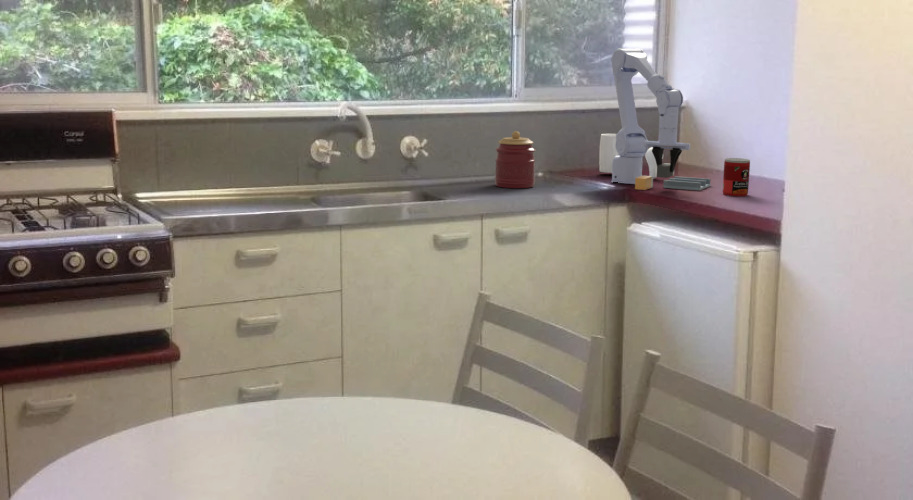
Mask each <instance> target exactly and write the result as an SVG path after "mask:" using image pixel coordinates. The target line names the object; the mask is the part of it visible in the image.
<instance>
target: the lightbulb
mask: <svg viewBox="0 0 913 500" xmlns="http://www.w3.org/2000/svg"><path fill="white" fill-rule="evenodd" d="M652 149H653V147H648V151H647V152H646V153H645V156H644V157H645V160H646V162H647V165H648V172H649V176H653V180H654V179H656V178H658V177H657V164H656V160H655V157H654V155H653V153H652ZM663 159H664V156H663V157H662V160H663Z"/></svg>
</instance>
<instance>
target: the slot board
mask: <svg viewBox="0 0 913 500" xmlns="http://www.w3.org/2000/svg"><path fill="white" fill-rule="evenodd" d="M711 179H712V178H702V177H691V176H676V175H674V176H673V177H668V179H663V185H662V186H663V188H664V189H675V190H676V189H677V190H688V191H689V190H691V191H702V190H704V189H707V188H709V187H711Z"/></svg>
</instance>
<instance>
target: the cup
mask: <svg viewBox="0 0 913 500" xmlns="http://www.w3.org/2000/svg"><path fill="white" fill-rule="evenodd" d="M616 134H617V133H601V134H600V138H599V155H598V157H599V158H598V159H599V161H598V162H599V165H598V167H599V168H598V169H599V172H600V173H607V174H612V167H613V159H614V157H615V156H619V154H618V152H617V150H616Z"/></svg>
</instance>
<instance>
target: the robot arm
mask: <svg viewBox="0 0 913 500" xmlns="http://www.w3.org/2000/svg"><path fill="white" fill-rule="evenodd" d="M610 59H611V60H610V61H611V67H612V73H613V77H614V83H615V90H616V98H617V105H618V111H619V116H620V117H619V118H620V123H621V128H620V129H619V131H618V132H616V133H615V134H616V150H617V152H618V154H619V156H615V157H614V159H613V167H612V173H611V183H613V182H618V183H617V184H628V185H629V184H630V185H635V178H637V177H640V176H643V174H642V173H643V161H644V160H643V159H644V157H645V154H646V152H647V151H648V149H649V148H651V147H653V149H652V153H653V155H654V157H655V160H656V164H657V166H658V165H661V164H663V159H662V157H663V158H664V150H665V149H670V150H669V154H670V155H669V156H670V157H669V158H670V163H669V164H670V172H674V173H675V167H676V165H677V161H678V160H679V157H680V156H681V153H682V151H683V150H685V151H690V150H691V146H692V144H691V143H688V142H677V141H678V123H679V119H678V118H679V108H681V107H682V105H683V103H684V95H683V93H682V91H681V90H680V89H678V88H677V89H675V88H674V87H672V86H673V85H671V84H670V83H669V82H668V81H667V80H666V77H665V76H664V75H663V74H657V72H656V71H655V70H654V69H653V67H652V65H651V64H650V63H649V61H648V54H647V53H646V52H645V50H643V48H616V49H615V50H614V51H613V54H612V56H611V58H610ZM638 73H639V74H640V75H641V76H642V77H643V78H644V79H645V80H646V81H647V83H646V84H647V88H648V89H649V90H650V92H651V93H652V94H653V96H654V97H655V98H656V100H655V101H656V105H657V112H658V114H659V118H658V119H659V120H658V140H648V137H647V135H646V131H645V130H644V129H643V128H642V127H641V126H639V123H638V116H637V109H636V102H635V97H634V95H635V94H634V89H633V83H632V79H633V77H635V76H636V75H637V74H638Z"/></svg>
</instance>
